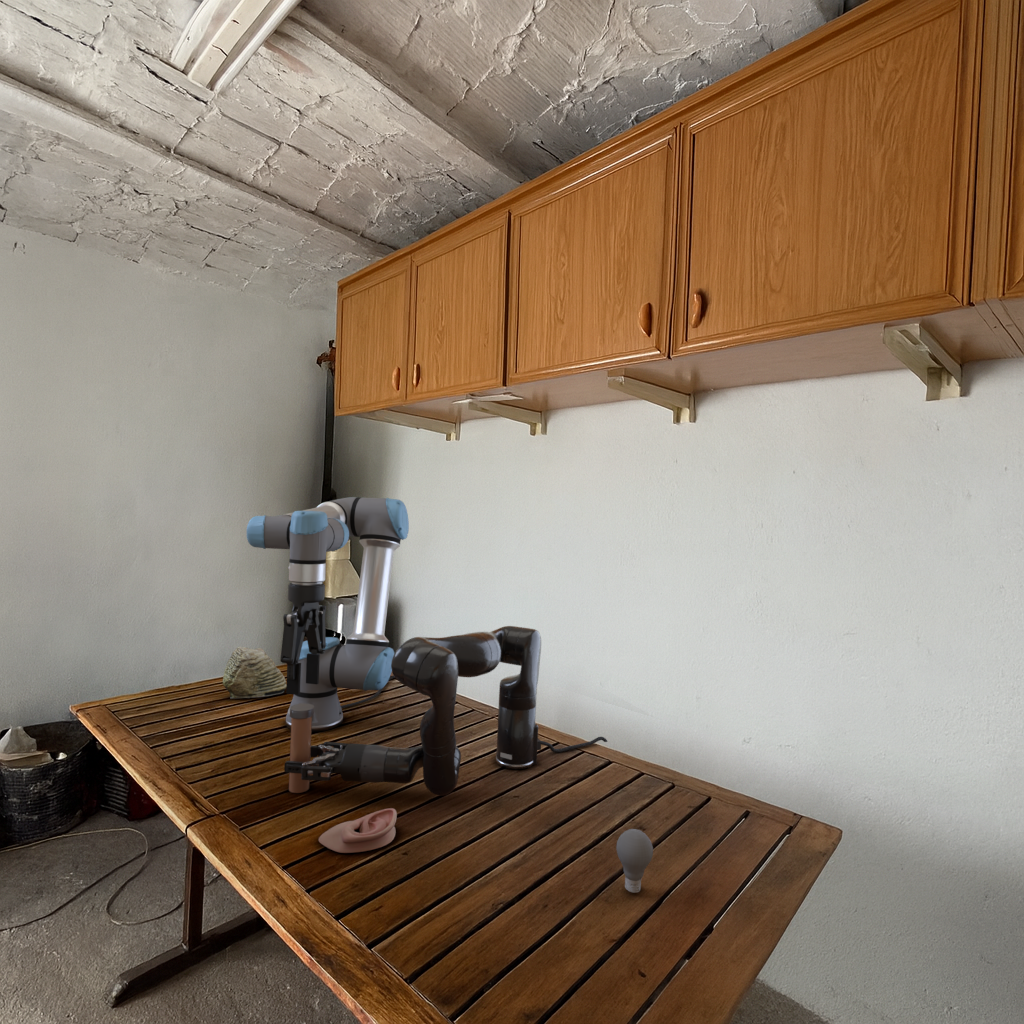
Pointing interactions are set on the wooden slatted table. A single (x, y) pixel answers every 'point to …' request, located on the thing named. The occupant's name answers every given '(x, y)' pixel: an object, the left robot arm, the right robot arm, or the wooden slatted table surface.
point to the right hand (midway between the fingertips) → (293, 758)
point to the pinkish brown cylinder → (300, 751)
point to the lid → (301, 711)
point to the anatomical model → (362, 833)
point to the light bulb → (634, 857)
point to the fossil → (252, 674)
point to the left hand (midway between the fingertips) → (302, 688)
